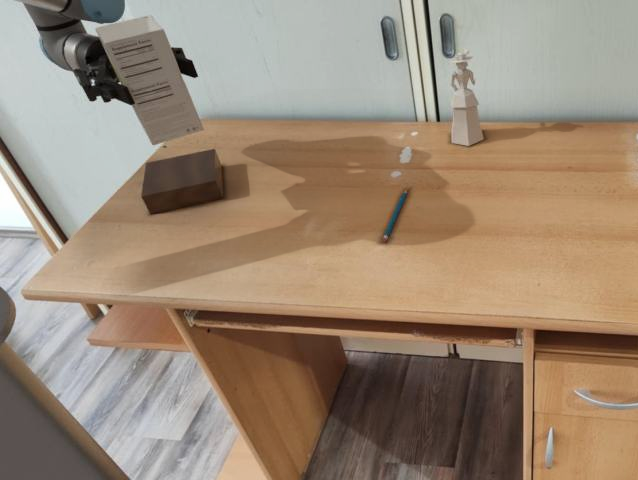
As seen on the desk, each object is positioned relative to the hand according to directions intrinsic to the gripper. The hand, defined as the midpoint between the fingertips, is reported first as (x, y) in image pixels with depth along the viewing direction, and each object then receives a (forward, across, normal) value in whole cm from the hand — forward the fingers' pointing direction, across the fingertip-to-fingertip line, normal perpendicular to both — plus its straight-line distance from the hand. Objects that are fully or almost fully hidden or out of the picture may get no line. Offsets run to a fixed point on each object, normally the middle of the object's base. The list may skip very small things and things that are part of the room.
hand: (162, 82), depth 97 cm
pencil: (+32, -17, -24) cm, 44 cm away
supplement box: (-4, 0, -9) cm, 10 cm away
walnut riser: (-11, -1, -24) cm, 27 cm away
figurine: (+25, -47, -24) cm, 59 cm away
